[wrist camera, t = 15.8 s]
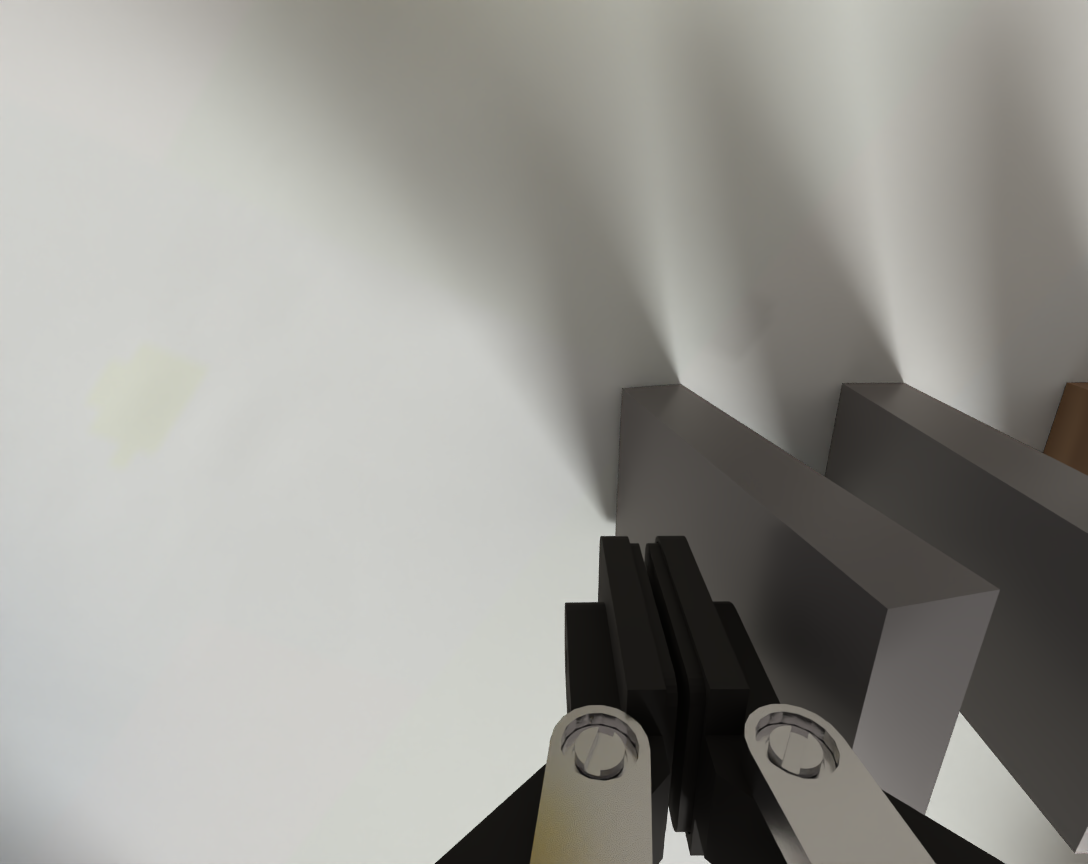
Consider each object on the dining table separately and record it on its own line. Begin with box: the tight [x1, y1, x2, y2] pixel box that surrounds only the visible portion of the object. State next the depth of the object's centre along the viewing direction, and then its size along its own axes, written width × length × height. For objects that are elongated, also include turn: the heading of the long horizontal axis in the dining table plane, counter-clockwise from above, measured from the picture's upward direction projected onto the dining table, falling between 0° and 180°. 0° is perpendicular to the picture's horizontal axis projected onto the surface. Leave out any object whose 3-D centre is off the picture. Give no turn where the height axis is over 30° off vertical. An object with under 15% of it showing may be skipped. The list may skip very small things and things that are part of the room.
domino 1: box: [615, 384, 1000, 815], centre depth 13 cm, size 2×5×10 cm, turn 0°
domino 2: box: [825, 383, 1088, 853], centre depth 13 cm, size 2×5×10 cm, turn 0°
